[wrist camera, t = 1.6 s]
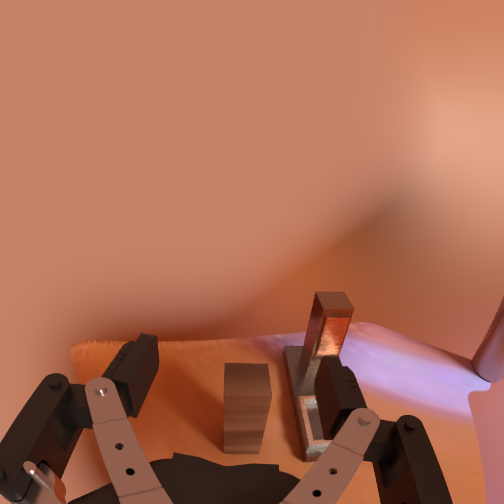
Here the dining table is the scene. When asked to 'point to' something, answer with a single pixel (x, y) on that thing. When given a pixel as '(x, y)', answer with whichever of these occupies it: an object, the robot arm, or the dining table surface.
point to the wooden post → (245, 406)
